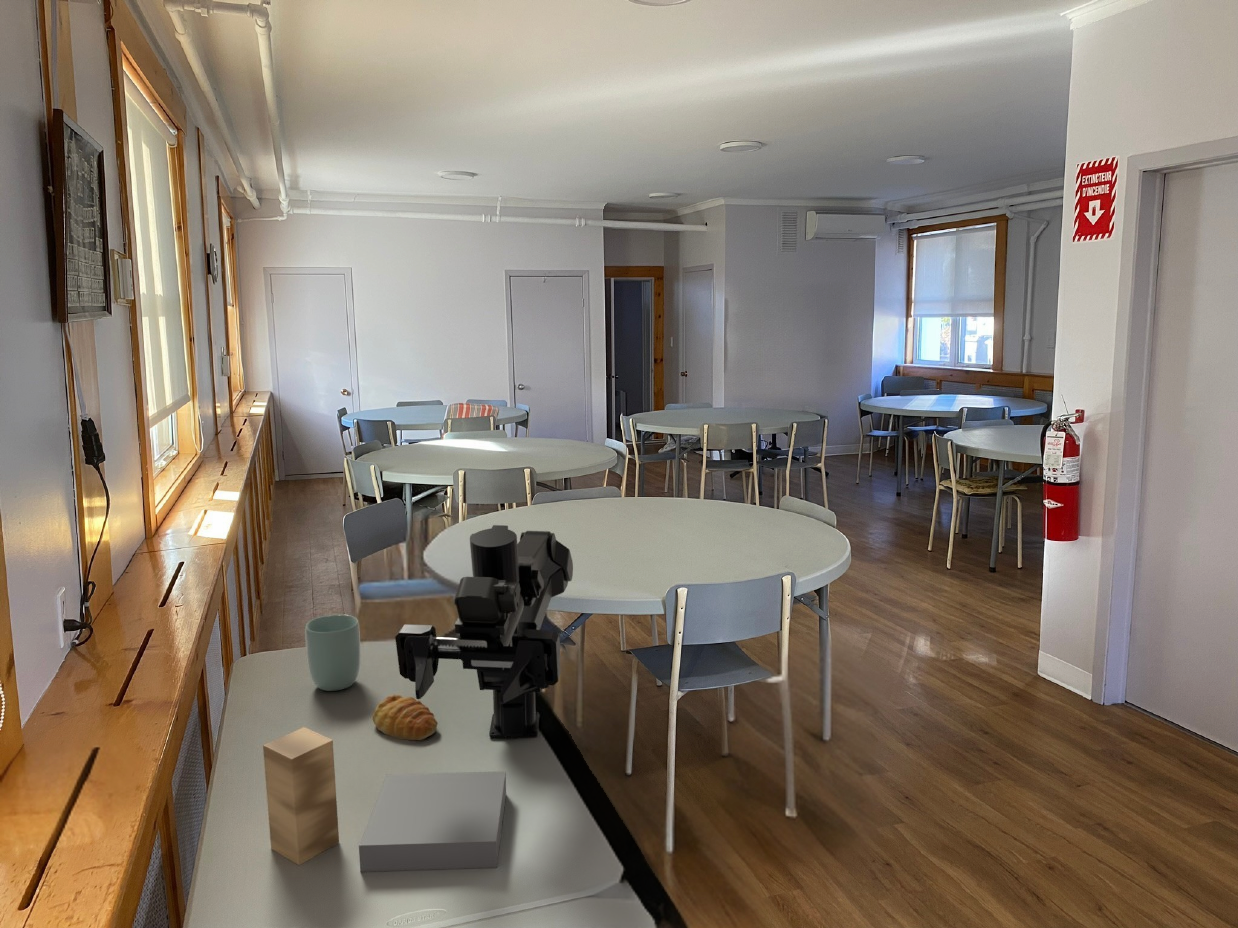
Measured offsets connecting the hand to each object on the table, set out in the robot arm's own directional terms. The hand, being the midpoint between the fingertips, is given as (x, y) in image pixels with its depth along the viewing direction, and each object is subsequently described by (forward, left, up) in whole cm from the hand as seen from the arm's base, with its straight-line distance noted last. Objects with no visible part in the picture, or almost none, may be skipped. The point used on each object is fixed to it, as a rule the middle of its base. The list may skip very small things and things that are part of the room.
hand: (459, 697), depth 97 cm
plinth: (-1, -3, -16) cm, 17 cm away
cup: (-40, -24, -16) cm, 49 cm away
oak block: (+1, -17, -16) cm, 24 cm away
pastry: (-26, -11, -17) cm, 33 cm away
